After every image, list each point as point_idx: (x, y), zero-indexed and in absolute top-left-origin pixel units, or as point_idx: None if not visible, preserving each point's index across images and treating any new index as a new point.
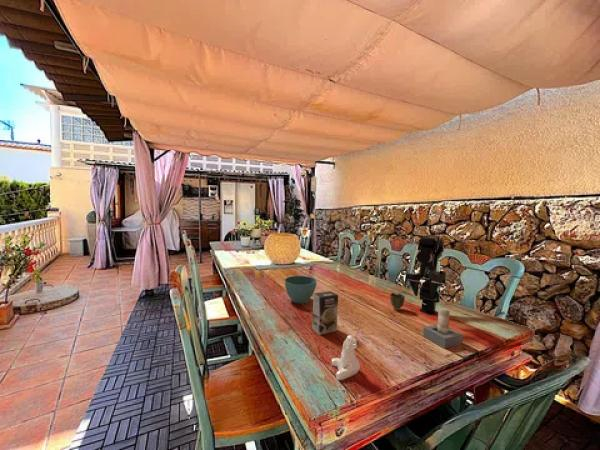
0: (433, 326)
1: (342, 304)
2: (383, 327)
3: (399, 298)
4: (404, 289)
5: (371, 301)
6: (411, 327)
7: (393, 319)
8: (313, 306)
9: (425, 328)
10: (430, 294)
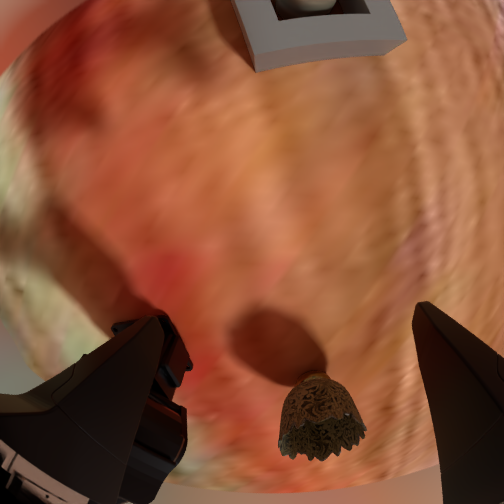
0: (337, 30)
1: None
2: (494, 193)
3: (339, 414)
4: None
5: None
6: (387, 162)
7: (414, 272)
8: None
9: (401, 28)
10: (157, 361)
